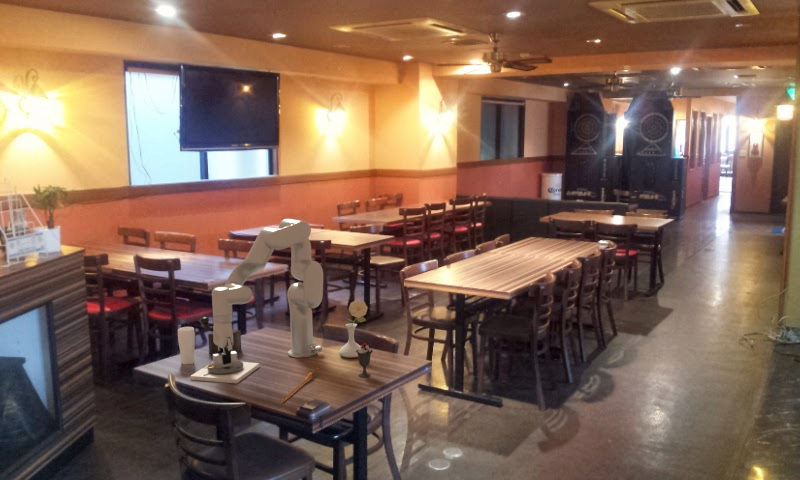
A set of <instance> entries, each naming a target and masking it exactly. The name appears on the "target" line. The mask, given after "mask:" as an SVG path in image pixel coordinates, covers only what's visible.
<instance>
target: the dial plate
mask: <svg viewBox="0 0 800 480" xmlns="http://www.w3.org/2000/svg"><path fill="white" fill-rule="evenodd" d="M241 362H242V363H243V369H242V370H240V371H238V372H235V373H230V374H212V373H210V372H208V366H209V365H210V364H212V363H213V361H212V362H211V363H209V364H207V365H206V366H203V367H202V368H201V369H199V370H198V371H196V372H195V373H193V374H191V375H190V380H191V381H202V382H203V381H206V382H217V383H226V384H227V383H228V384H230V383H231V384H238V383H239V382H241V381H242V380H244V379H245V378H246V377H247V376H249V375H251V374H252V373H253V372H254V371H256V370H257V369H259V368H260V363H259V362H247V361H241Z"/></svg>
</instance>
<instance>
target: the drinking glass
mask: <svg viewBox="0 0 800 480" xmlns="http://www.w3.org/2000/svg"><path fill="white" fill-rule="evenodd" d="M195 334H196V333H195V328H194V327H193V326H183V327H180V328H178V329H177V340H178V341H177V342H178V346H179V355H180V361H181V362H180V363H181V364H182V365H185V366H188V365H192V364H194V363H195V346H196V345H195V341H196V337H195V336H196V335H195Z"/></svg>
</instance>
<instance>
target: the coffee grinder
mask: <svg viewBox="0 0 800 480" xmlns="http://www.w3.org/2000/svg"><path fill="white" fill-rule="evenodd" d="M199 323H200V324H201V325H202V328H203V329H210V330H212V329H213V326H210V324H209V323H210V319H209V317H207V316H202V317H201V318H200V320H199ZM232 331H233V346H232V350H231V351H236V352H237V354H238V353H239V352H241V351H242V334H241V330H238V329H232ZM207 336H208V337H207V338H208V355H210V356H213V354H218V346H217V345H216V344H214V342H213V332H210V333H208V334H207ZM226 346H227V345H226ZM226 346H225V347H226ZM226 349H227V348H225V350H226ZM219 352H220V351H219Z"/></svg>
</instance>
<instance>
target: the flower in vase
mask: <svg viewBox="0 0 800 480" xmlns="http://www.w3.org/2000/svg"><path fill="white" fill-rule="evenodd" d="M368 309H369V308H368V306H367V304H366V302H365V301H364V300H361V299H355V300H354V301H352V302H350V304H349V308H348V311H349V314H350V315H351V316H353V317H354V318H355V319H354V320H352V319H349V318H347V317H345V319H346V320H347V321H350V322H352V323H346V324H345V327H346V328H347V331H348V341H347V342H346V343H345V344H344V345H343V346H342V347H341V348H340V349H339V350H338V354H339V356H341V357H344V358H352V359H353V358H358V353H357V352H356V351H357V350H358V349H360V347H361V345H360V344H359V343H357V342H356V341H355V330H356V327H357V326H358V324H357V323H355V322H356V320H357V321H358V322H359V323H363V322H366V321H367V319H366V318H365V317H364V316H365V315H366V314H367V311H368Z"/></svg>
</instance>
